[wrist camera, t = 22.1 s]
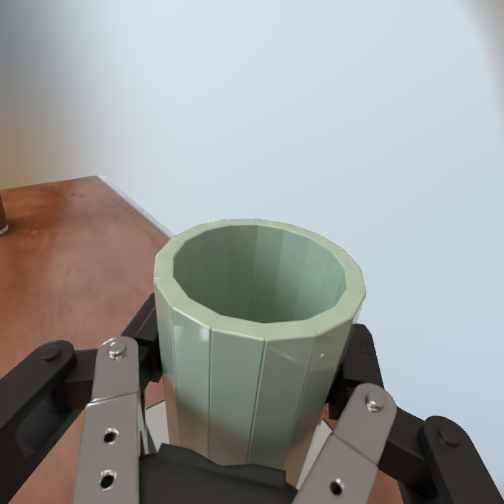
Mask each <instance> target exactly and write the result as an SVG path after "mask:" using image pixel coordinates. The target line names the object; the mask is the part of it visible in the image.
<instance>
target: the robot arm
mask: <svg viewBox="0 0 504 504" xmlns="http://www.w3.org/2000/svg"><path fill="white" fill-rule="evenodd" d="M161 376H162V365H161V354H160V344H159V334H158V324H157V314H156V304H155V294H154V293H152V294H151V295H150V296H149V297H148V299H147V300H146V301H145V303H144V305H142V307H141V308H140V310H139V312H137V314H136V315H135V316H134V318H133V319H132V321H131V322H130V323H129V325H128V326H127V327H126V329H125V330H124V331H123V333H122V334H121V336H120V337H115V338H112V339H110V340H108V341H106V342H105V343H103V344H102V345H101V346H100V348H98V349H89V350H77V351H74V347H73V345H72V344H71V343H70V342H68V341H64V340H56V341H51V342H48V343H45V344H43V345H41V346H40V347H38V348H37V349H35V350H34V351H33V352H32V353H31V354H30V355H28V356H27V357H26V358H25V359H24V360H23V361H22V362H20V363H19V364H18V365H17V366H16V367H15V368H13V369H12V370H11V371H10V372H9V373H8V374H6V375H5V376H4V377H3V378H2V379H1V380H0V504H8V503H9V501H10V500H11V499H12V498H13V496H14V495H15V494H16V493H17V491H18V490H19V489H20V488H21V486H22V485H23V484H24V483H25V481H26V480H27V479H28V478H29V476H30V475H31V474H32V473H33V472H34V470H35V469H36V468H37V467H38V465H39V464H40V463H41V462H42V460H43V459H44V458H45V457H46V455H47V454H48V453H49V452H50V450H51V449H52V448H53V447H54V445H55V444H56V443H57V442H58V440H59V439H60V438H61V437H62V435H63V434H64V433H65V432H66V430H67V429H68V428H69V427H70V425H71V424H72V423H73V422H74V420H75V419H76V418H77V417H78V415H79V414H80V413H81V412H82V410H83V409H85V411H84V418H83V426H82V433H81V441H80V448H79V455H78V463H77V470H76V478H75V485H74V493H73V500H72V504H366V503H367V501H368V498H369V495H370V492H371V489H372V487H373V484H374V481H375V478H376V475H377V472H378V469H379V470H380V471H382V472H384V473H386V474H387V475H389V476H391V477H393V478H394V479H396V480H397V483H398V486H399V489H400V493H401V496H402V499H403V503H404V504H504V500H503V498H502V497H501V495H500V493H499V491H498V489H497V487H496V485H495V484H494V482H493V480H492V478H491V476H490V474H489V473H488V471H487V469H486V467H485V465H484V463H483V461H482V459H481V458H480V456H479V454H478V452H477V450H476V448H475V446H474V444H473V443H472V441H471V439H470V437H469V436H468V435H467V433H466V432H465V431H464V430H463V429H462V428H461V427H460V426H459V425H458V424H456V423H455V422H453V421H451V420H449V419H448V418H445V417H442V416H431V417H428V418H427V419H426V420H425V421H424V420H422V419H420V418H418V417H416V416H413V415H411V414H409V413H407V412H406V411H403V410H402V409H401V408H399V407H398V406H397V405H396V404H395V401H394V400H393V398H392V397H391V395H390V394H389V393H388V392H387V391H385V389H384V385H383V381H382V377H381V372H380V368H379V364H378V360H377V356H376V351H375V347H374V343H373V338H372V335H371V333H370V332H369V330H368V329H367V328H366V326H365V325H362V324H357V323H356V325H355V328H354V331H353V334H352V337H351V339H350V342H349V345H348V348H347V351H346V354H345V356H344V359H343V362H342V365H341V368H340V371H339V374H338V376H337V379H336V382H335V385H334V388H333V391H332V394H331V396H330V399H329V402H328V405H329V419H333V420H337V421H338V422H337V424H336V425H335V427H334V429H333V431H332V432H331V433H330V434H329V436H328V437H327V439H326V441H325V443H324V445H323V447H322V448H321V450H320V452H319V454H318V456H317V458H316V460H315V461H314V463H313V465H312V467H311V469H310V471H309V473H308V474H307V476H306V478H305V480H304V482H303V484H302V486H301V487H300V489H299V490H298V489H297V488H295V487H294V486H293V485H291V484H290V483H288V482H286V471H285V470H281V469H277V468H272V467H268V466H263V465H259V464H240V465H225V466H222V465H218V464H216V463H215V462H213V461H211V460H209V459H208V458H206V457H204V456H202V455H201V454H199V453H197V452H195V451H194V450H192V449H188V448H184V447H179V446H175V445H170V444H166V443H161V445H160V448H159V450H158V452H156V453H150V454H148V444H147V426H146V400H145V389H146V387H147V385H148V383H149V381H152V382H157V383H159V381H160V379H161Z"/></svg>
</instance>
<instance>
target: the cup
mask: <svg viewBox="0 0 504 504" xmlns="http://www.w3.org/2000/svg"><path fill="white" fill-rule="evenodd" d="M153 283H154V294H155V304H156V314H157V324H158V334H159V344H160V354H161V365H162V375H163V385H164V395H165V405H166V415H167V426H168V436H169V444H170V445H175V446H179V447H184V448H188V449H192V450H194V451H195V452H197V453H199V454H201V455H202V456H204V457H206V458H208V459H209V460H211V461H213V462H215V463H216V464H218V465H222V466H225V465H240V464H259V465H263V466H268V467H272V468H277V469H281V470H285V471H286V482H288V483H290V484H291V485H293V486H294V487H295V488H296V487H297V485H298V483H299V481H300V479H301V476H302V473H303V471H304V469H305V467H306V464H307V462H308V459H309V456H310V454H311V451H312V448H313V445H314V442H315V439H316V436H317V434H318V431H319V428H320V425H321V422H322V419H323V416H324V414H325V411H326V408H327V405H328V402H329V399H330V396H331V394H332V391H333V388H334V385H335V382H336V379H337V376H338V374H339V371H340V368H341V365H342V362H343V359H344V356H345V354H346V351H347V348H348V345H349V342H350V339H351V337H352V334H353V331H354V328H355V325H356V322H357V319H358V317H359V314H360V311H361V308H362V305H363V302H364V299H365V297H366V289H365V285H364V280H363V276H362V272H361V269H360V267H359V266H358V265H357V264H356V262H355V261H354V260H353V259H352V258H351V257H350V256H349V255H348V254H347V253H346V251H345V250H344V249H342V248H341V247H339V246H338V245H336V244H334V243H333V242H331V241H329V240H328V239H326V238H324V237H322V236H321V235H319V234H317V233H314V232H311V231H308V230H306V229H303V228H300V227H297V226H294V225H291V224H287V223H280V222H274V221H267V220H261V219H227V220H226V219H225V220H220V221H215V222H210V223H205V224H200V225H198V226H195V227H192V228H190V229H189V230H186V231H184V232H182V233H180V234H178V235H176V236H174V237H173V238H171V239H170V240H169V242H168V243H167V244H166V245H165V246H164V247H163V248H162V249H161V250H160V252H159V253H158V254H157V256H156V258H155V267H154V276H153Z"/></svg>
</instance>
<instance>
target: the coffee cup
mask: <svg viewBox="0 0 504 504" xmlns="http://www.w3.org/2000/svg"><path fill="white" fill-rule="evenodd" d="M7 229H8V224H7V220H6V216H5V212H4V208H3V204H2V200H1V196H0V234H3V233H4V232H5V231H7Z"/></svg>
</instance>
